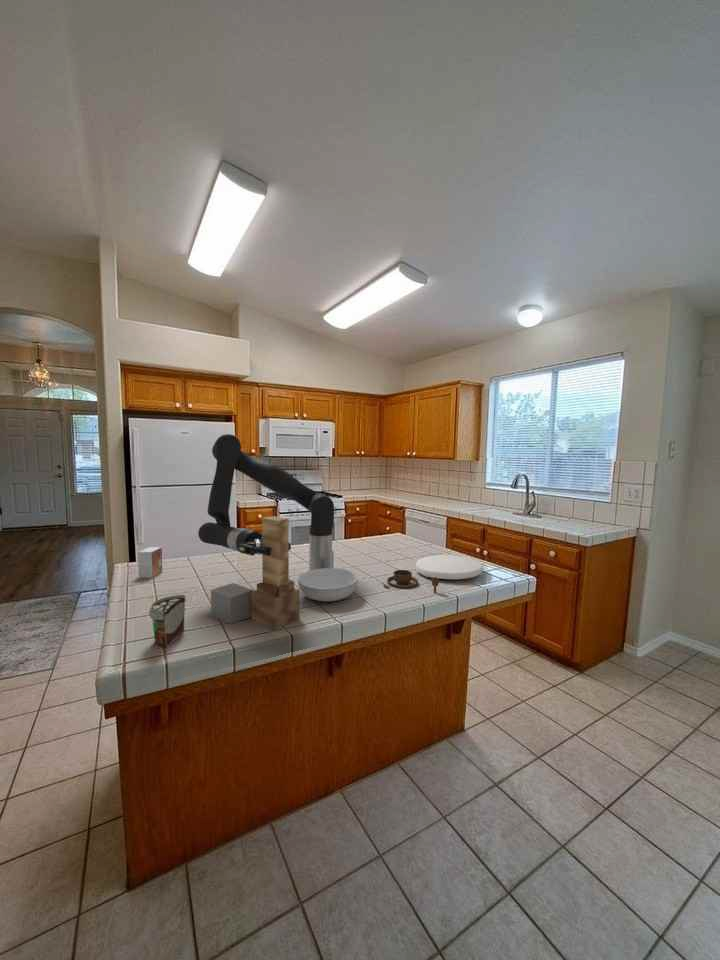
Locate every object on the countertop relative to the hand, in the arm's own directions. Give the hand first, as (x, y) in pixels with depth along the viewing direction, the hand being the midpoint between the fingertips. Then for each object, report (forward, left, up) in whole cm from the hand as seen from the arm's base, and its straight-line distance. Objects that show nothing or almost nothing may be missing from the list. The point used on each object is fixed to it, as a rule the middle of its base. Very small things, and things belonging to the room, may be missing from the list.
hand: (280, 549), depth 114 cm
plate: (-75, +21, -22) cm, 81 cm away
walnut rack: (0, -2, -22) cm, 22 cm away
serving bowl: (-24, -2, -22) cm, 33 cm away
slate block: (+6, -15, -22) cm, 27 cm away
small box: (+3, -73, -22) cm, 77 cm away
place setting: (-50, +15, -23) cm, 57 cm away
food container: (+26, -17, -22) cm, 38 cm away
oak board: (0, -2, -13) cm, 13 cm away
